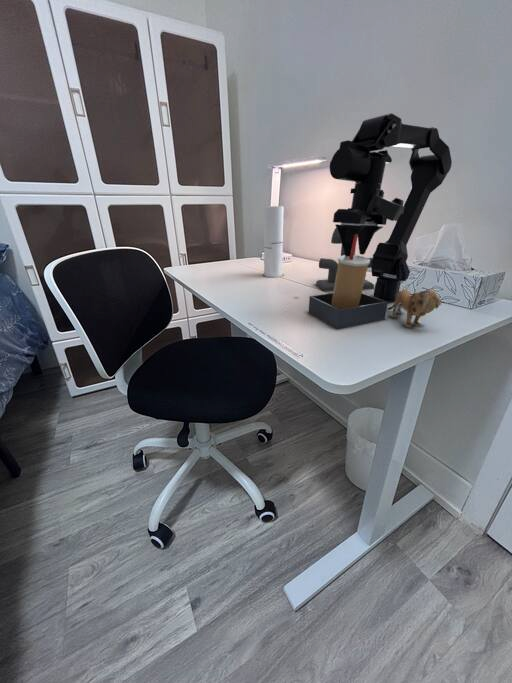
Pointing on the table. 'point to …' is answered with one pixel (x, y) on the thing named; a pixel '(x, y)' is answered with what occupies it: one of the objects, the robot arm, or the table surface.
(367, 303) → the bin
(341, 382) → the table surface
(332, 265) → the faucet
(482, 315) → the table surface
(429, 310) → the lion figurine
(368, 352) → the table surface
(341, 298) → the takeaway cup
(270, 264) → the cylindrical container
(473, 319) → the table surface
